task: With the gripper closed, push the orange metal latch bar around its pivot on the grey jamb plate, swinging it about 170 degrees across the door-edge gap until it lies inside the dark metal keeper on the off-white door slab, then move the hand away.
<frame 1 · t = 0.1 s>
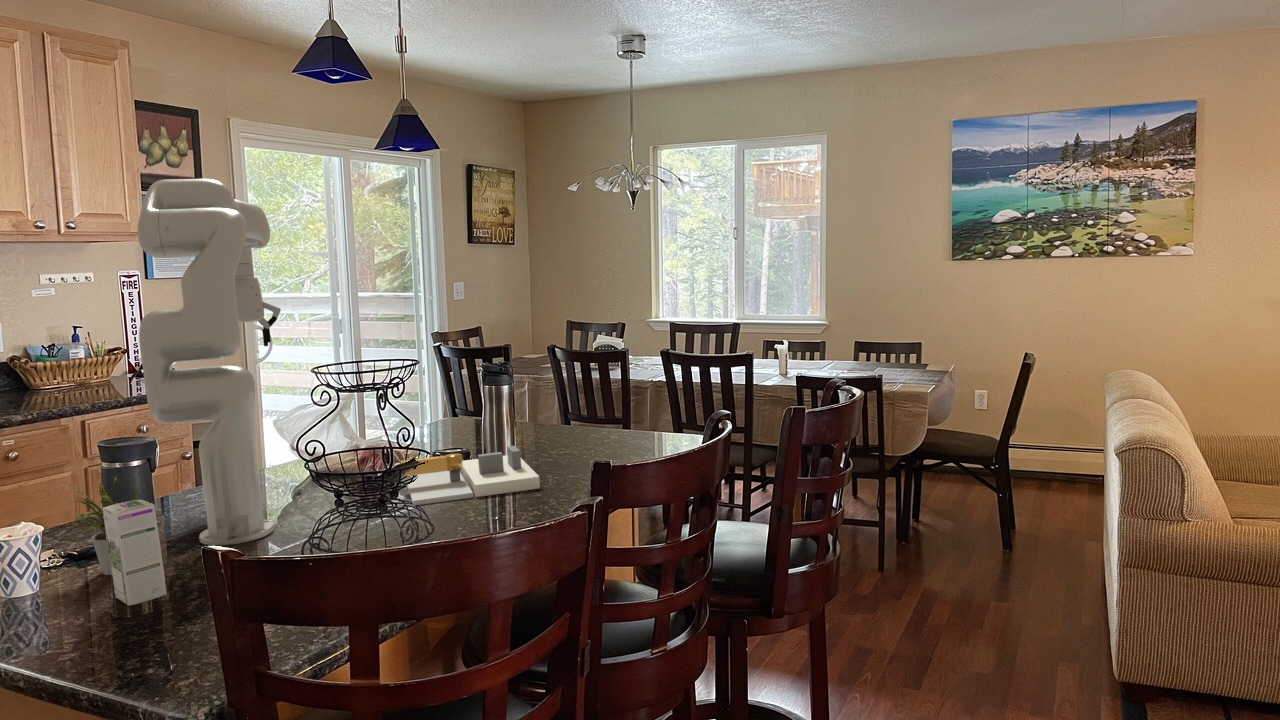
hand: (243, 347, 202), 31 cm above the kitchen island, tool pointing down, fingers open, 9 cm apart
latch bar: (432, 464, 190), point 5 cm above the kitchen island, hinge at 90.0°
syrup box: (140, 598, 135), on the kitchen island
house plant: (114, 569, 148), on the kitchen island
door mock-up: (455, 485, 192), on the kitchen island
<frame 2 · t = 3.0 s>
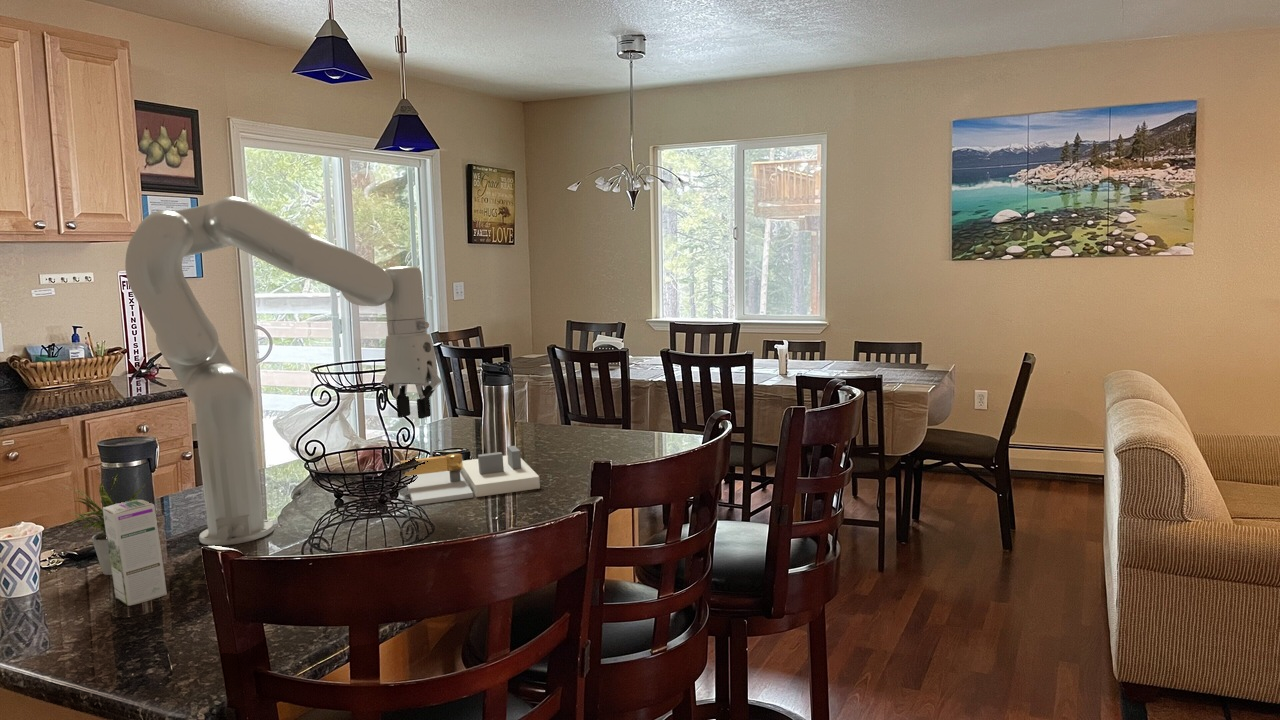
hand: (414, 416, 180), 17 cm above the kitchen island, tool pointing down, fingers open, 4 cm apart
nothing on the kitchen island moved.
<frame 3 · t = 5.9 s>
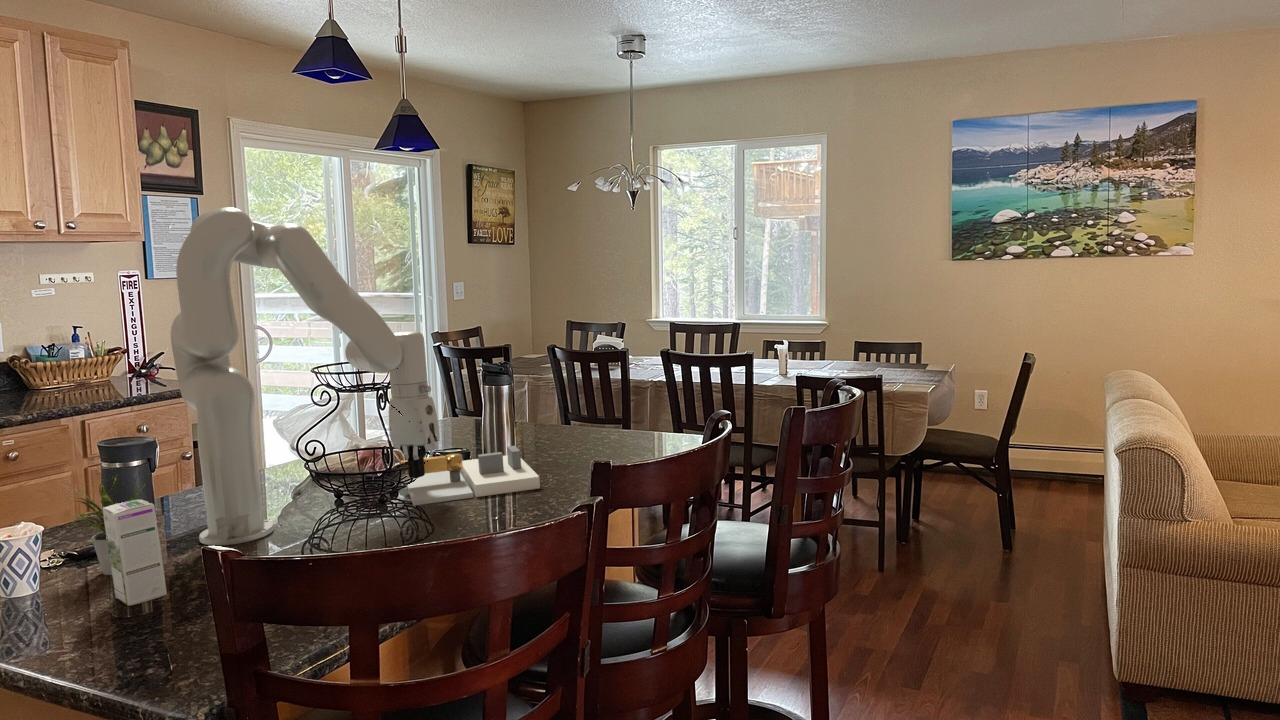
hand: (417, 476, 186), 4 cm above the kitchen island, tool pointing down, fingers closed
latch bar: (432, 464, 190), point 5 cm above the kitchen island, hinge at 88.9°, touching gripper
everything else where it was.
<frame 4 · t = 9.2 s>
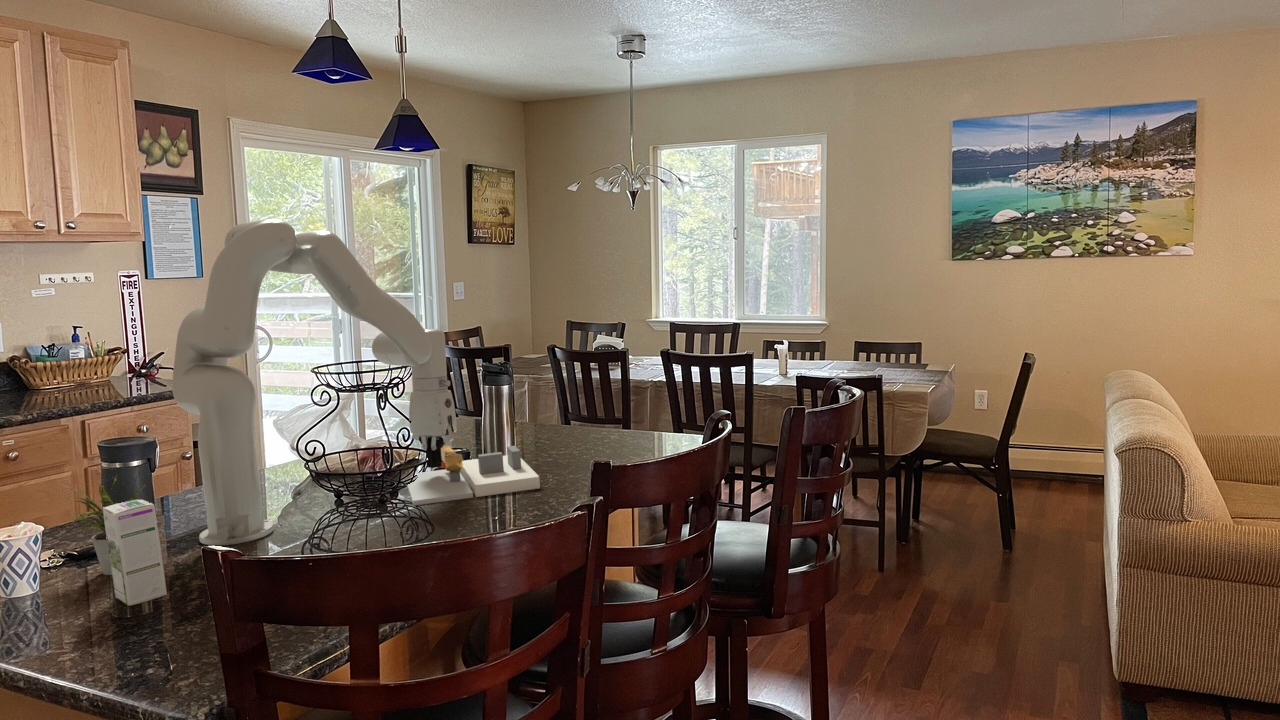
hand: (434, 466, 197), 3 cm above the kitchen island, tool pointing down, fingers closed
latch bar: (450, 458, 195), point 5 cm above the kitchen island, hinge at 3.0°, touching gripper
everything else where it was.
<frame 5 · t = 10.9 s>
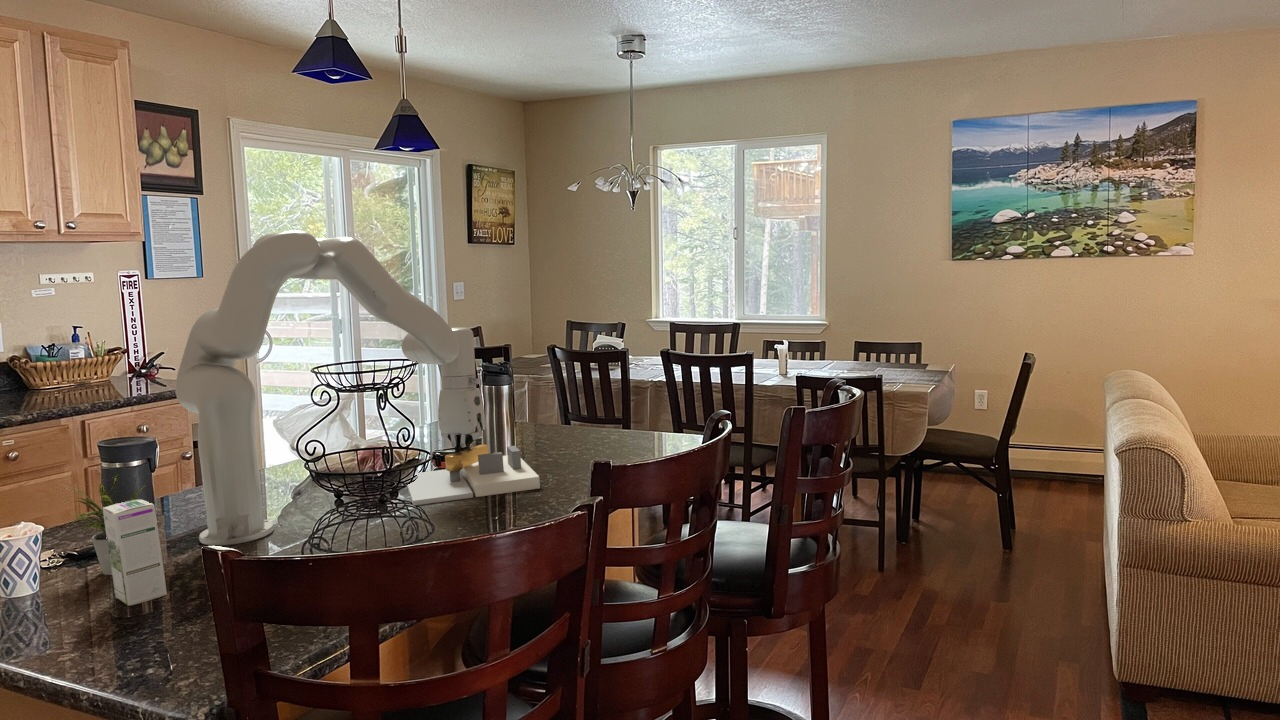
hand: (463, 463, 199), 3 cm above the kitchen island, tool pointing down, fingers closed
latch bar: (467, 457, 195), point 5 cm above the kitchen island, hinge at -46.5°, touching gripper
everything else where it was.
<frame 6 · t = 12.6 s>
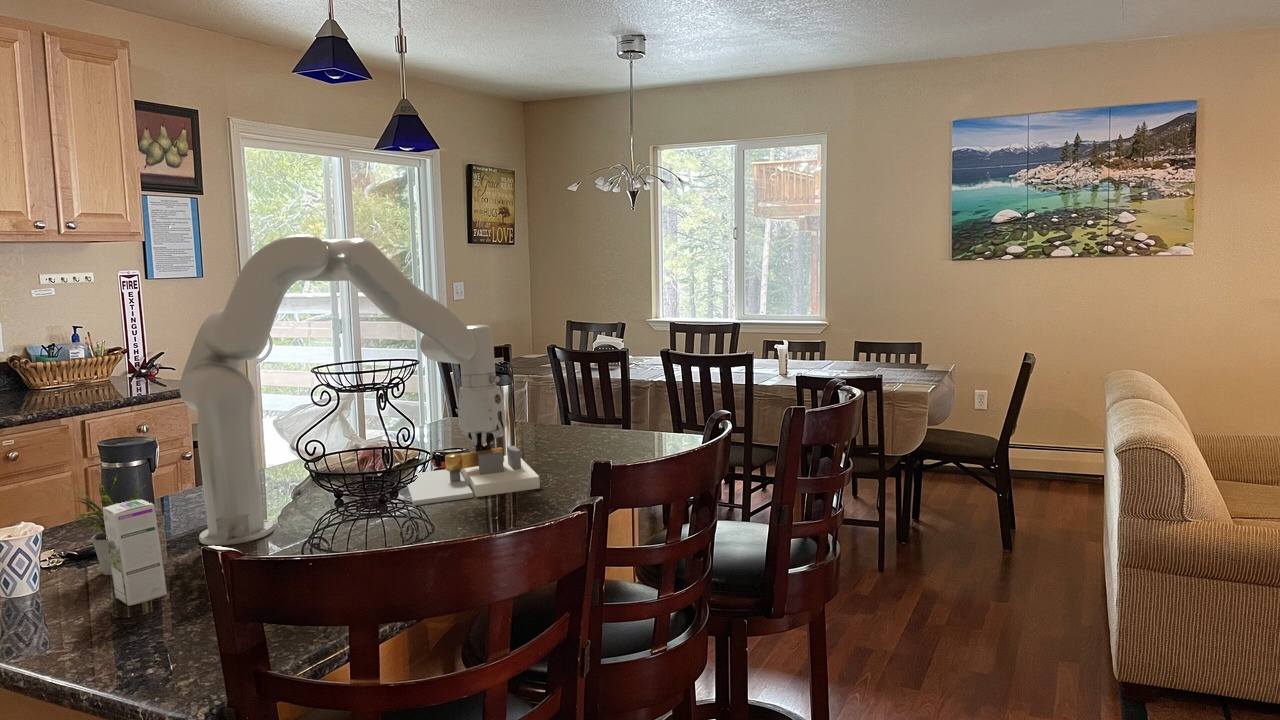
hand: (484, 461, 198), 3 cm above the kitchen island, tool pointing down, fingers closed
latch bar: (474, 459, 193), point 5 cm above the kitchen island, hinge at -81.0°, touching gripper
everything else where it was.
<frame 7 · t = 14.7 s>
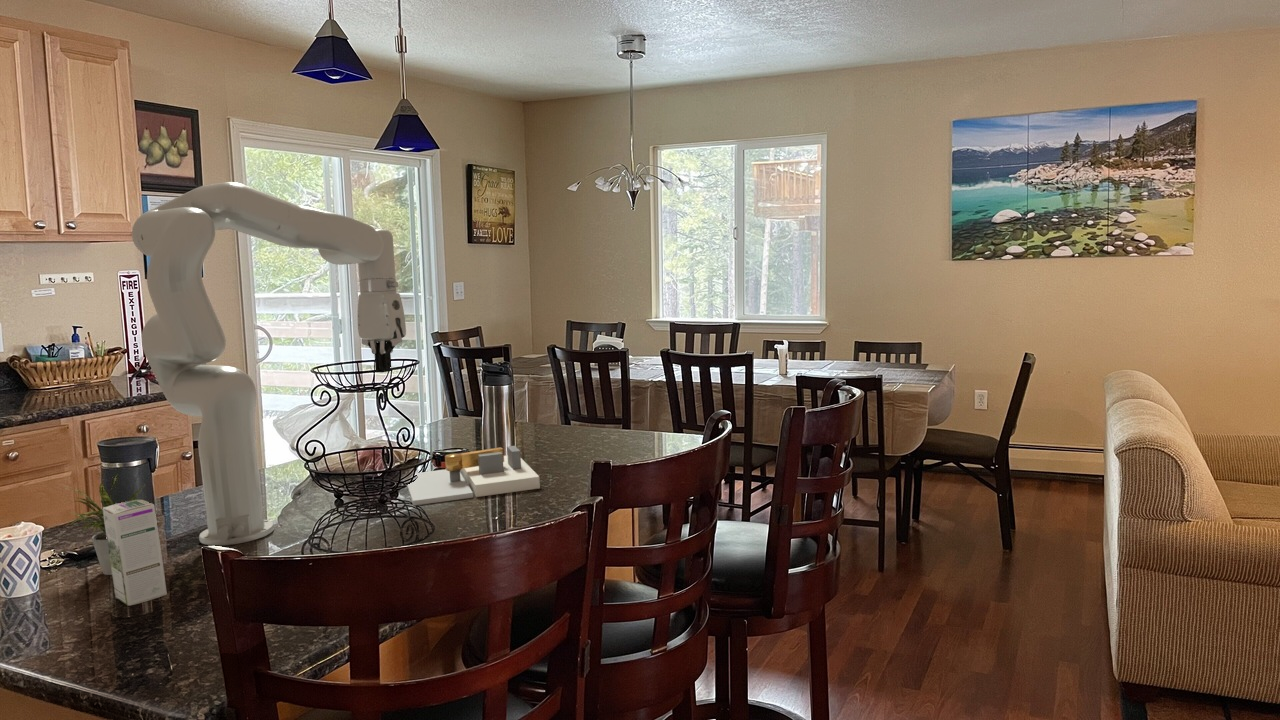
hand: (383, 371, 192), 25 cm above the kitchen island, tool pointing down, fingers closed
latch bar: (474, 459, 193), point 5 cm above the kitchen island, hinge at -81.1°
everything else where it was.
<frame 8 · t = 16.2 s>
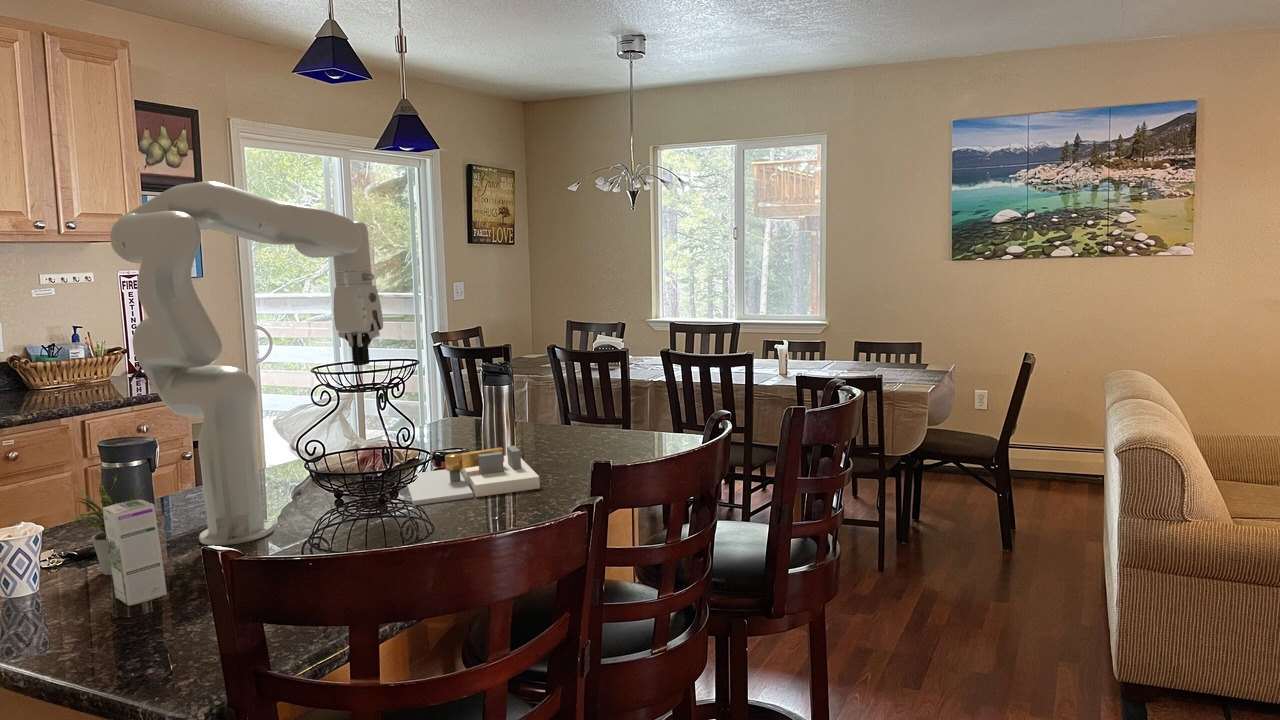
hand: (361, 364, 192), 27 cm above the kitchen island, tool pointing down, fingers closed
nothing on the kitchen island moved.
at the end: latch bar at -81° (first picture: +90°) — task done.
